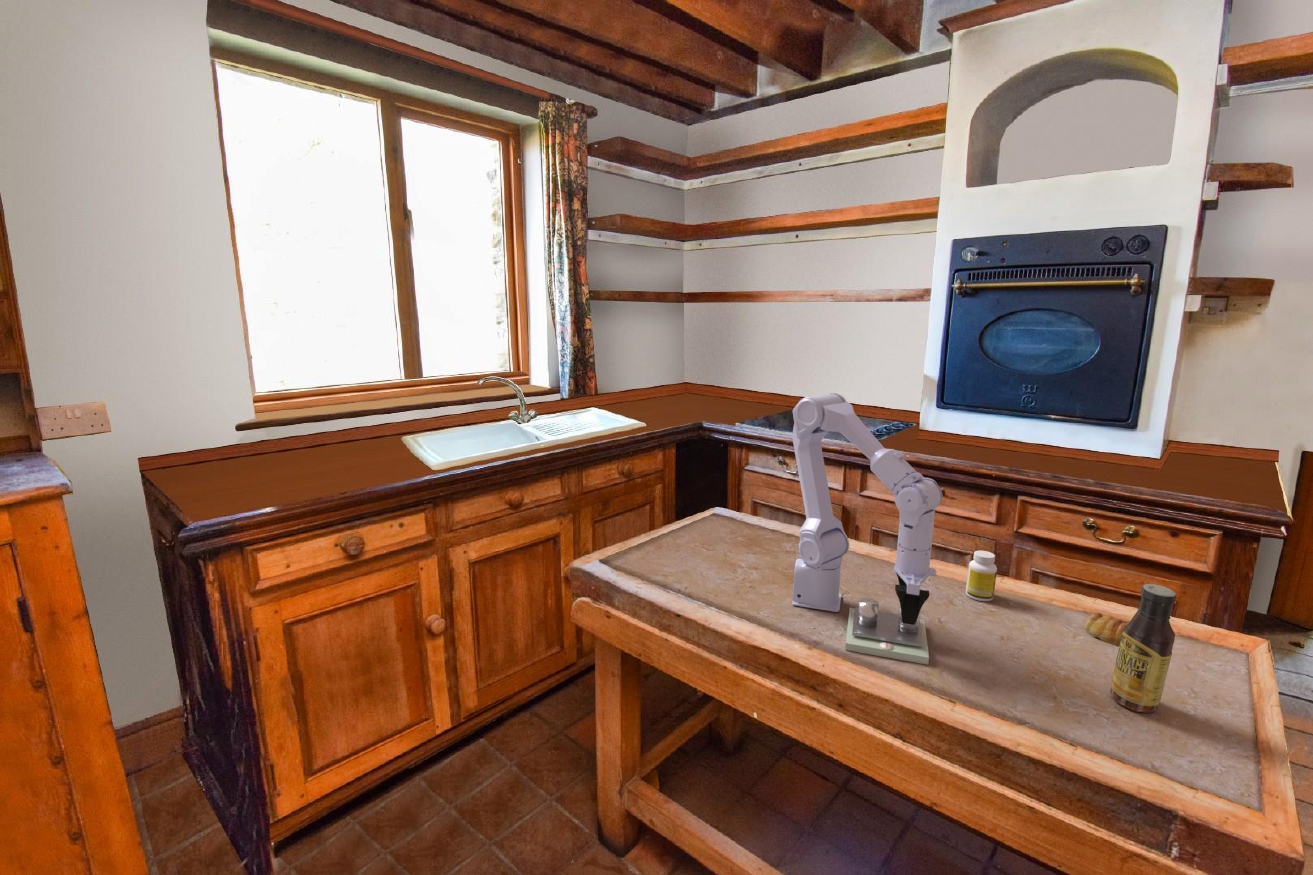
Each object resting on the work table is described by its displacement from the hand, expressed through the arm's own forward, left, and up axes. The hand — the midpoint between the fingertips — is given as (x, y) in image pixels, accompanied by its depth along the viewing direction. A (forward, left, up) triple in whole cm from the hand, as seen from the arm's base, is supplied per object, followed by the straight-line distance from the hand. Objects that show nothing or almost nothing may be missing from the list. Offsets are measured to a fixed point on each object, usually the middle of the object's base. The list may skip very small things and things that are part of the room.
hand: (907, 613), depth 115 cm
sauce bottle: (+34, -8, -6) cm, 35 cm away
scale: (-4, 0, -5) cm, 6 cm away
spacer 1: (-7, 0, -3) cm, 8 cm away
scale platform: (-3, 0, -5) cm, 6 cm away
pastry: (+37, +14, -6) cm, 40 cm away
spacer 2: (0, 0, -3) cm, 3 cm away
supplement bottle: (+16, +24, -6) cm, 29 cm away
